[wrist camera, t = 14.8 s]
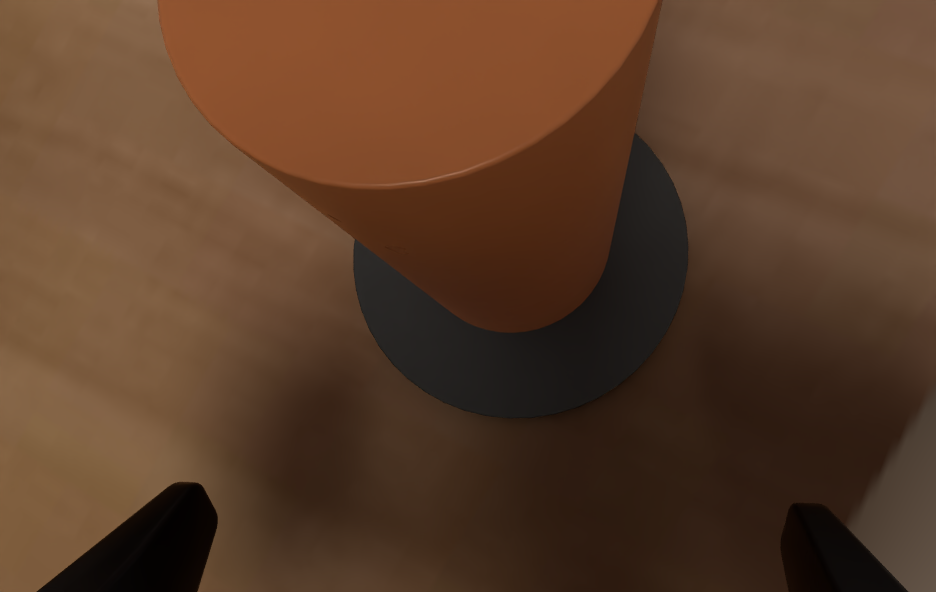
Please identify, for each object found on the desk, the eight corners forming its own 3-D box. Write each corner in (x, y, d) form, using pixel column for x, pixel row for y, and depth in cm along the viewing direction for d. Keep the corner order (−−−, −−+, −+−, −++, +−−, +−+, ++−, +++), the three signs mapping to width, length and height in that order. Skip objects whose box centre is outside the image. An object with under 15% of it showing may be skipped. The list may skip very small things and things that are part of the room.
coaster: (738, 160, 16) (741, 153, 16) (605, 477, 16) (606, 479, 15) (437, 59, 18) (434, 51, 18) (306, 336, 18) (299, 334, 17)
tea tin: (636, 302, 16) (761, 82, 5) (442, 356, 16) (195, 258, 6) (578, 121, 17) (582, -367, 6) (399, 178, 18) (124, -180, 7)
